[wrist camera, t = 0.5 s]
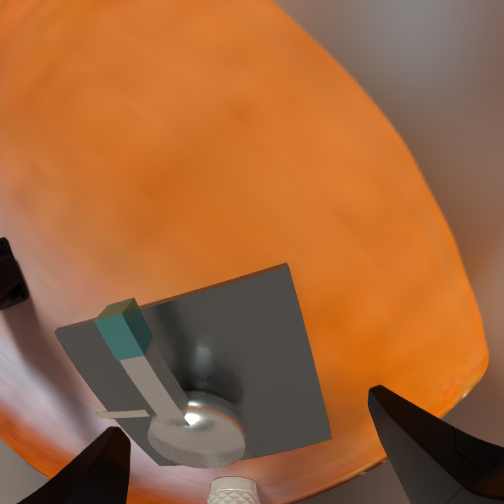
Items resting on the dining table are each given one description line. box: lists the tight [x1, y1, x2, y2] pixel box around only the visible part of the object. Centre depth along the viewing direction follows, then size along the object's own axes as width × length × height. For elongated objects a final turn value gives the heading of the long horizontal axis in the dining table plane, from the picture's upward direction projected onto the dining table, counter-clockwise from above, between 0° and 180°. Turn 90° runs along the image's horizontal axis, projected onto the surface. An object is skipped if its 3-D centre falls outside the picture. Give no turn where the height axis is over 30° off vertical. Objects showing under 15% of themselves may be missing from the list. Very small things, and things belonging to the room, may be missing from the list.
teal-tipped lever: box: [94, 298, 245, 468], centre depth 18 cm, size 17×8×3 cm, turn 17°
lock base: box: [54, 263, 332, 466], centre depth 22 cm, size 24×22×2 cm
